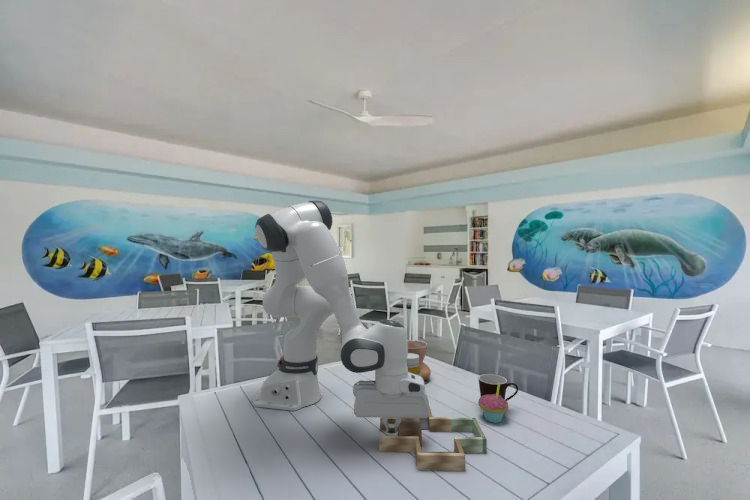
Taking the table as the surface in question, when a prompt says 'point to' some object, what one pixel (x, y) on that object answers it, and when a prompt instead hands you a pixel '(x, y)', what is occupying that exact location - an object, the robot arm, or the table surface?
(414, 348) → the ceramic jug
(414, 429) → the block
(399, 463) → the table surface
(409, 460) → the table surface
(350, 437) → the table surface
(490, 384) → the coffee mug
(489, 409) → the cupcake
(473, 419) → the box
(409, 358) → the bottle
